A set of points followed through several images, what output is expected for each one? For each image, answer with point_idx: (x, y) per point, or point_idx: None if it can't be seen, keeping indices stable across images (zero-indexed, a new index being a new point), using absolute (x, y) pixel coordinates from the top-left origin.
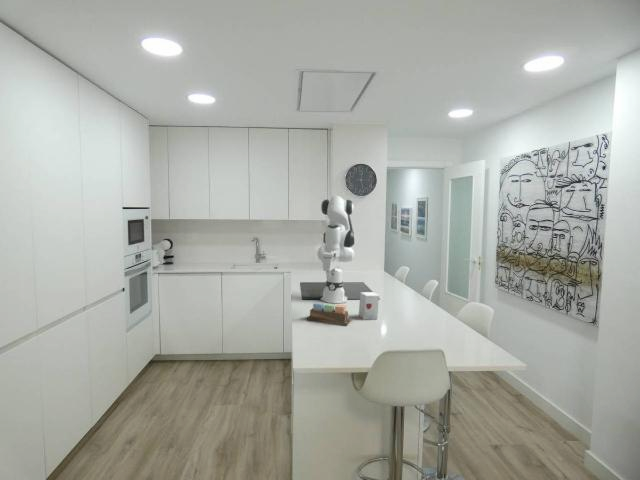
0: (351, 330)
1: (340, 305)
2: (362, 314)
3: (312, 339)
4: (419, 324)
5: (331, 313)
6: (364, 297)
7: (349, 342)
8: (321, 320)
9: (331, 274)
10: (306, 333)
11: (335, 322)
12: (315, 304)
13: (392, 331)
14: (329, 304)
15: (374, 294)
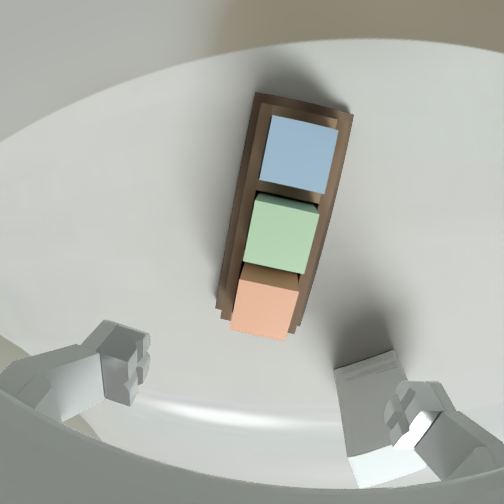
0: (164, 318)
1: (279, 311)
2: (353, 375)
3: (31, 179)
4: (304, 485)
5: (234, 243)
6: (358, 442)
7: (52, 301)
8: (238, 178)
9: (410, 393)
10: (72, 141)
11: (224, 254)
12: (269, 132)
13: (208, 432)
14: (288, 237)
15: (372, 479)
